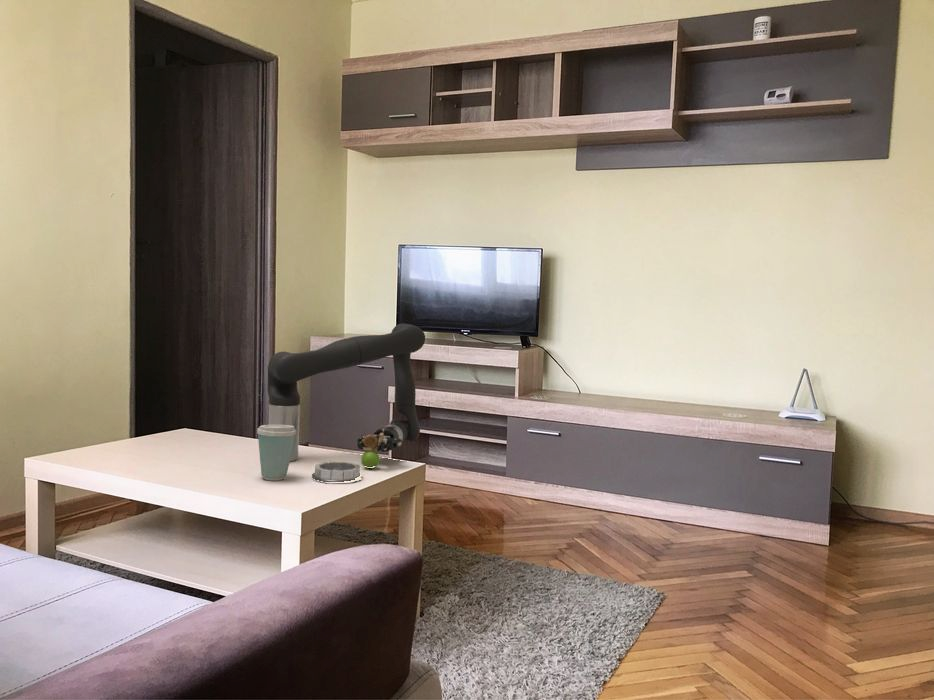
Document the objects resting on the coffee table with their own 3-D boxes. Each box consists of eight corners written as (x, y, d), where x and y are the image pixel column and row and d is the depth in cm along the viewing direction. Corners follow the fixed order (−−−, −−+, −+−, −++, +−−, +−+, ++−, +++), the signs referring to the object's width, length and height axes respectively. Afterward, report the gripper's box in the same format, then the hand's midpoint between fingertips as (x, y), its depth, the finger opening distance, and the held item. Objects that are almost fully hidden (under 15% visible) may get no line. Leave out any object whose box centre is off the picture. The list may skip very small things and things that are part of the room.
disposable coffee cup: (249, 475, 209) (251, 422, 208) (285, 472, 215) (287, 420, 214) (263, 484, 201) (265, 428, 200) (301, 480, 207) (303, 426, 206)
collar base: (310, 483, 204) (311, 471, 203) (313, 471, 217) (313, 460, 217) (362, 484, 206) (363, 472, 206) (361, 472, 220) (362, 461, 219)
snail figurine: (383, 470, 223) (385, 431, 222) (362, 470, 222) (364, 430, 221) (380, 466, 229) (382, 427, 228) (359, 466, 227) (361, 427, 226)
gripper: (367, 424, 240) (347, 432, 223) (410, 428, 237) (392, 436, 220) (366, 447, 240) (346, 457, 224) (409, 451, 237) (391, 461, 221)
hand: (369, 447), depth 222 cm, fingers closed on snail figurine, 5 cm apart
